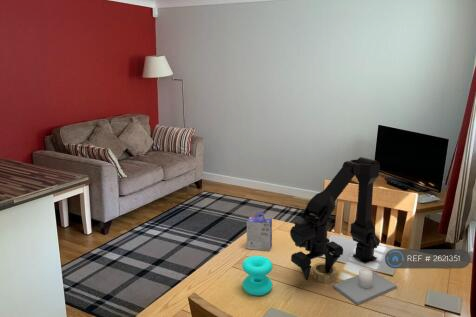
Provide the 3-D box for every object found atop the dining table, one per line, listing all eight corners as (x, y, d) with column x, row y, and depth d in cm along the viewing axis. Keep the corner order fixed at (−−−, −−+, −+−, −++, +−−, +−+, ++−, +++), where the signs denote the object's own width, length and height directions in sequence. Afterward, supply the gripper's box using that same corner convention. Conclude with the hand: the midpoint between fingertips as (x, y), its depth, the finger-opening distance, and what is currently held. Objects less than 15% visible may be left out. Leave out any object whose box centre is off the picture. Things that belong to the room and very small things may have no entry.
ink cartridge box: (272, 245, 157) (272, 212, 153) (270, 251, 152) (270, 217, 148) (248, 243, 159) (248, 210, 155) (246, 249, 154) (246, 216, 150)
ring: (325, 268, 139) (325, 260, 138) (340, 278, 132) (341, 271, 132) (308, 274, 135) (308, 266, 135) (323, 285, 129) (323, 277, 128)
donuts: (260, 251, 132) (278, 263, 124) (260, 276, 134) (278, 290, 126) (236, 259, 127) (253, 273, 119) (237, 285, 129) (253, 301, 121)
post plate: (370, 272, 136) (372, 257, 134) (396, 288, 126) (398, 271, 125) (332, 287, 127) (333, 271, 126) (357, 305, 118) (358, 288, 117)
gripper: (323, 220, 139) (321, 259, 143) (281, 232, 130) (281, 272, 134) (345, 232, 130) (343, 272, 134) (302, 245, 121) (300, 288, 125)
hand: (316, 276), depth 132 cm, fingers open, 9 cm apart
